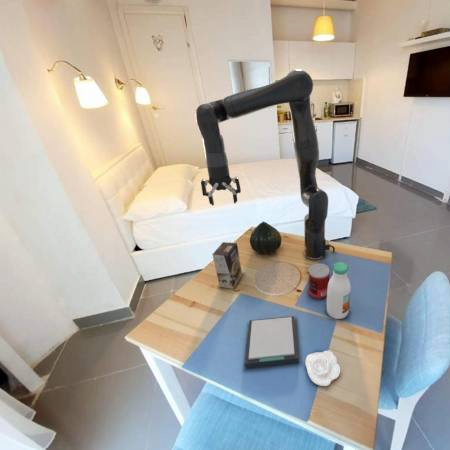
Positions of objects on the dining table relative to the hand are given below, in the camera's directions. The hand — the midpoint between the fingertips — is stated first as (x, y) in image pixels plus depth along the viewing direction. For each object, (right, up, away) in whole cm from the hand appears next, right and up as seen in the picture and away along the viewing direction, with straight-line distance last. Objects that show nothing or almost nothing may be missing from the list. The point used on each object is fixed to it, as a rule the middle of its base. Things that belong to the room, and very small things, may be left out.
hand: (224, 203), depth 100 cm
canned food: (+38, -35, -3) cm, 51 cm away
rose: (+37, -49, -29) cm, 68 cm away
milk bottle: (+44, -39, -11) cm, 60 cm away
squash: (+14, -21, +23) cm, 34 cm away
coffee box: (+2, -32, +4) cm, 32 cm away
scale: (+22, -45, -22) cm, 55 cm away
